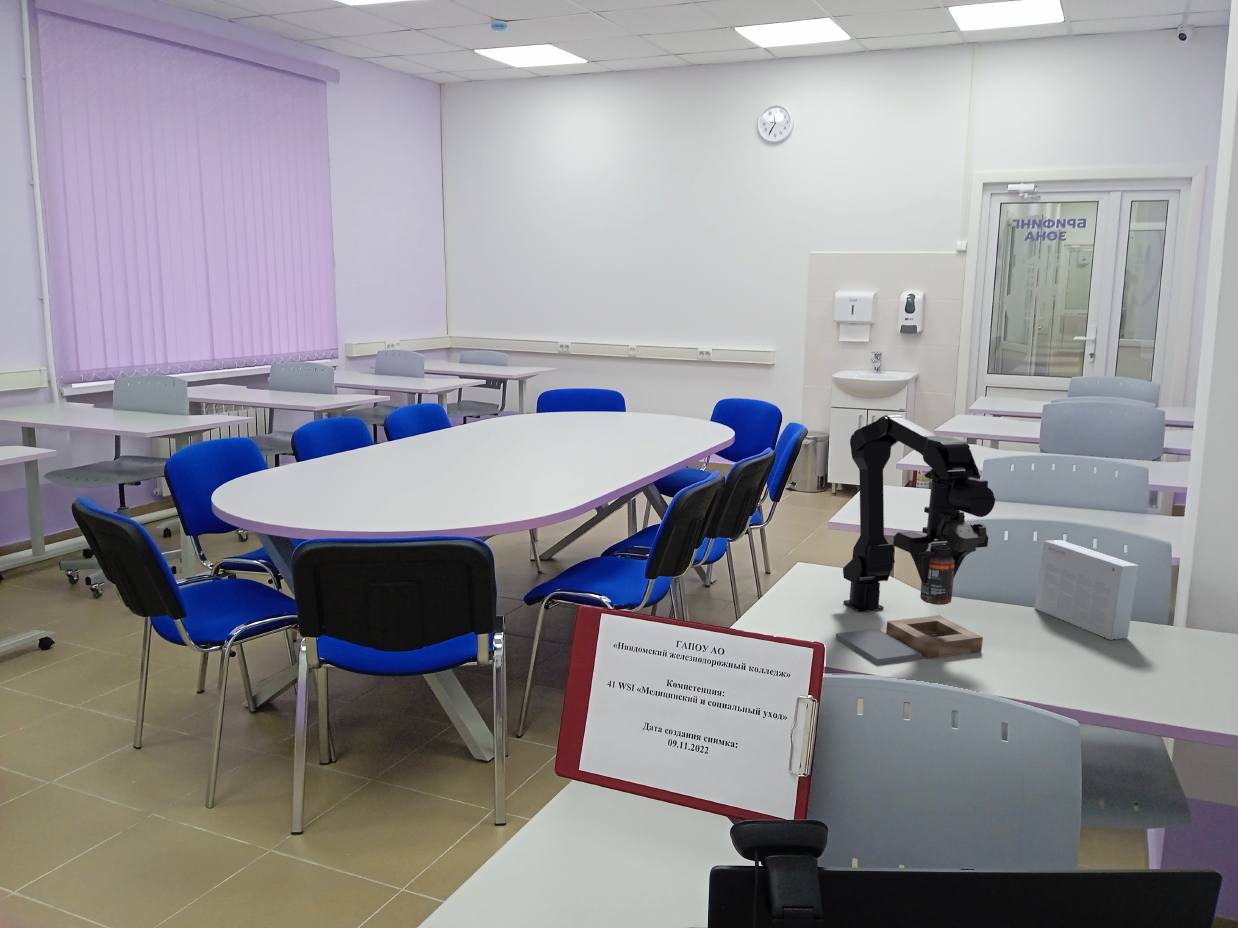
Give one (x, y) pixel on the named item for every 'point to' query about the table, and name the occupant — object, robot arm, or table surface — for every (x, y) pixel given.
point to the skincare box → (1086, 588)
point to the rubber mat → (878, 646)
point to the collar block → (947, 644)
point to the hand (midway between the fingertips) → (937, 581)
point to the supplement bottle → (939, 576)
